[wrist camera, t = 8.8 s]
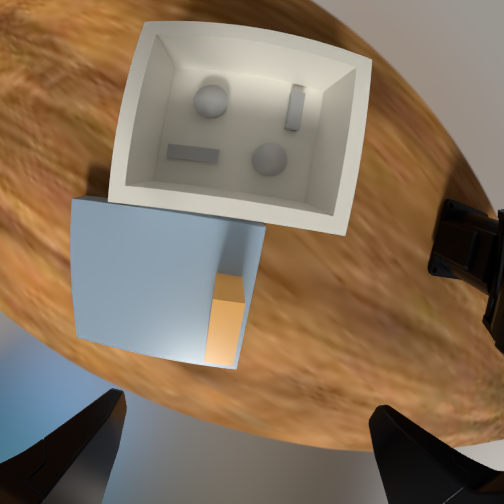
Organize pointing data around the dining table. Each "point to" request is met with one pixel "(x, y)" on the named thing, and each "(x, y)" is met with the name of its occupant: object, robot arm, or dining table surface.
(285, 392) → the dining table surface
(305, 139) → the parts tub
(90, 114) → the dining table surface
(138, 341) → the lid
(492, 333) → the robot arm
